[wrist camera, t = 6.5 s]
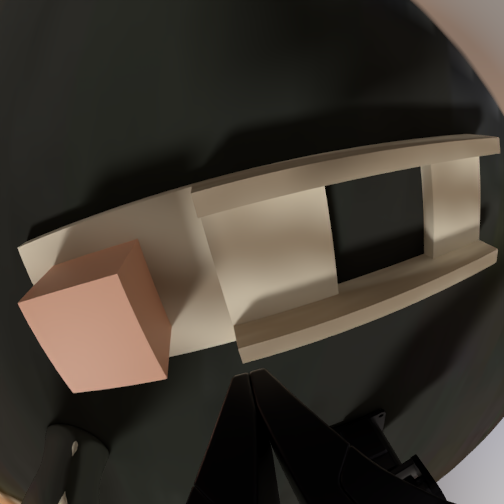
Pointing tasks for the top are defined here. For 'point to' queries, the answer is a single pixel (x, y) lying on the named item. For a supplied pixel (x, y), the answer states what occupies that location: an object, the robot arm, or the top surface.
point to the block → (101, 320)
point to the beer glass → (68, 468)
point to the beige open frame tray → (285, 245)
